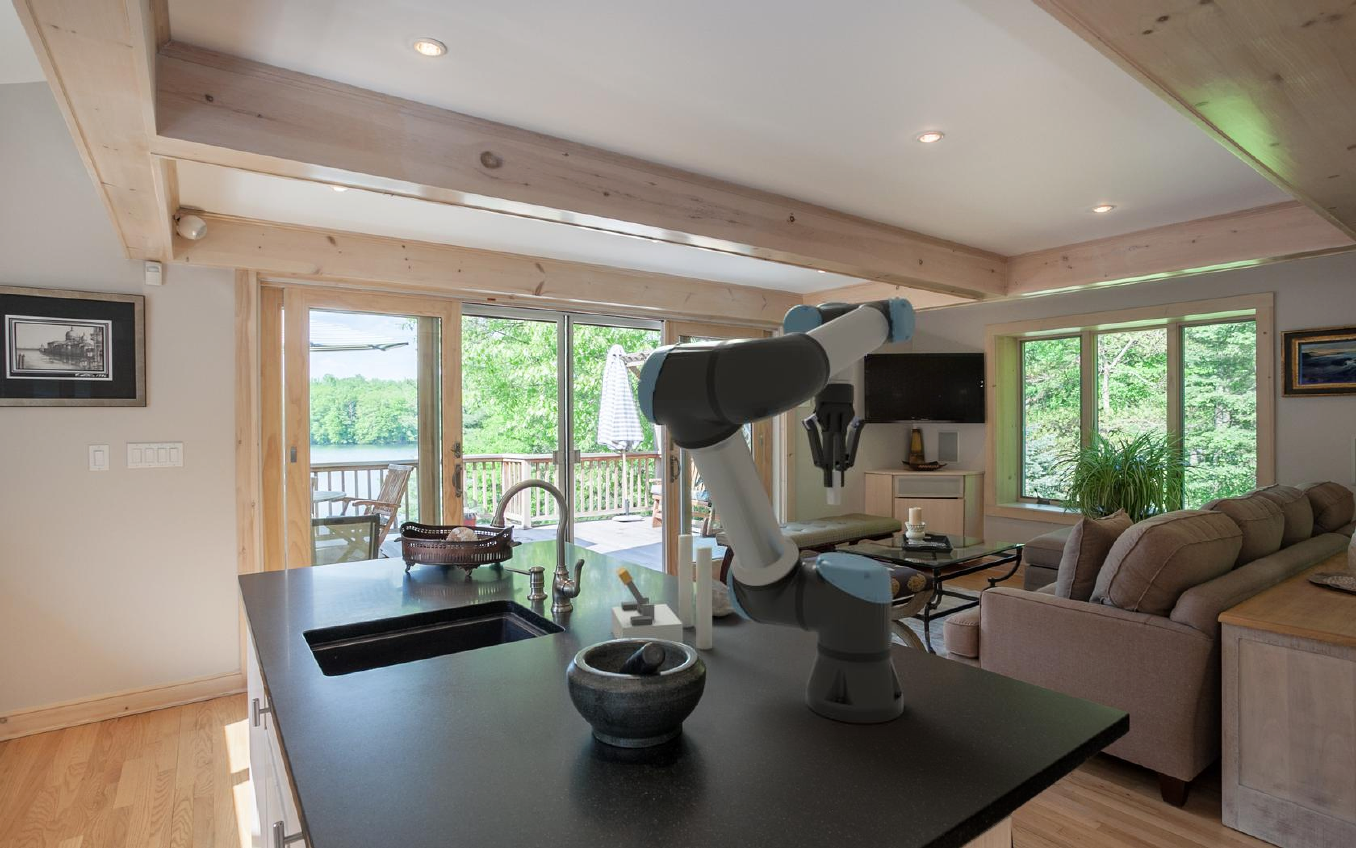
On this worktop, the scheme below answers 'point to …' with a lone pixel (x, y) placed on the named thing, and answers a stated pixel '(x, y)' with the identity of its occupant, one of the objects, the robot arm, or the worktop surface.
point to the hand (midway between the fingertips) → (833, 504)
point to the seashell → (719, 599)
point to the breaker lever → (631, 585)
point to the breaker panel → (646, 621)
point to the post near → (704, 597)
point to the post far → (685, 579)
